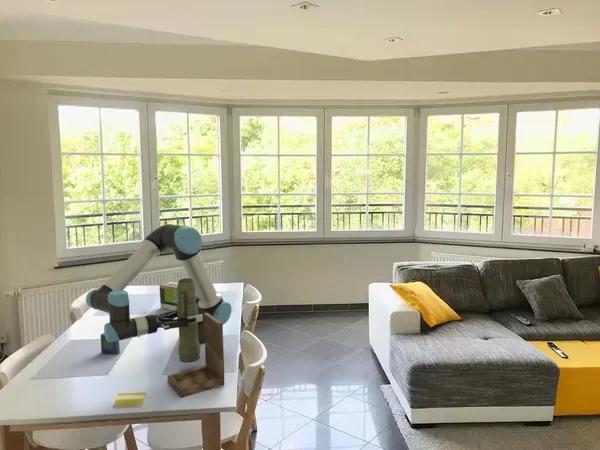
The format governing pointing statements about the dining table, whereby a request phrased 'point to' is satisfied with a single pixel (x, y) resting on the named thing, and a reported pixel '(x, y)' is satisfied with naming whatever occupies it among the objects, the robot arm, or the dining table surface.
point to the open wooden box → (214, 368)
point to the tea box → (168, 296)
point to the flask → (109, 346)
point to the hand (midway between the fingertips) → (197, 314)
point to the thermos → (189, 334)
